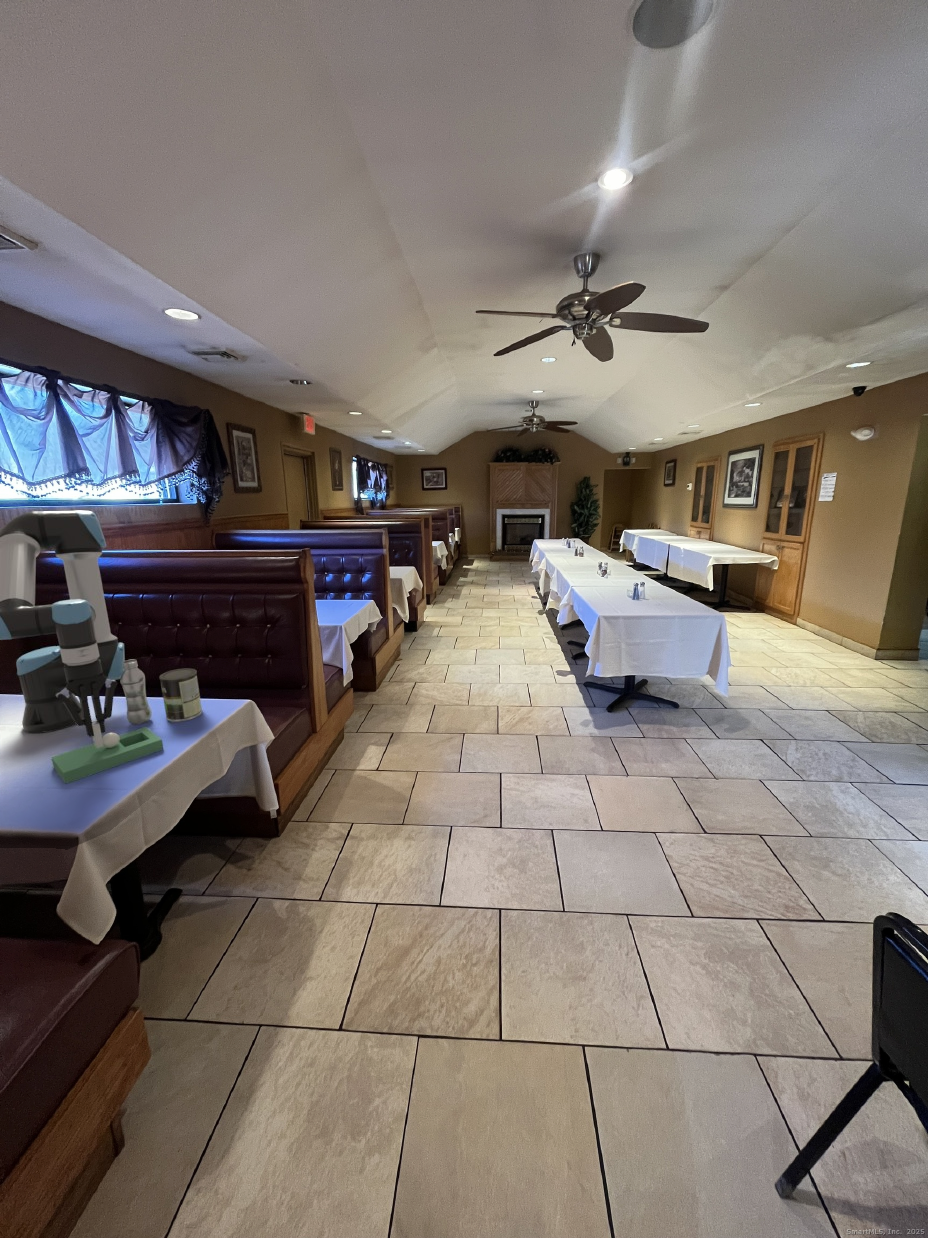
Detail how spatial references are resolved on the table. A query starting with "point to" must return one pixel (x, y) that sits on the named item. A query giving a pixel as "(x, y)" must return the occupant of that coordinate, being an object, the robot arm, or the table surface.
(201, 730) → the table surface
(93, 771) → the green
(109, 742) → the ball
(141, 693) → the plastic bottle
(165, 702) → the coffee can
